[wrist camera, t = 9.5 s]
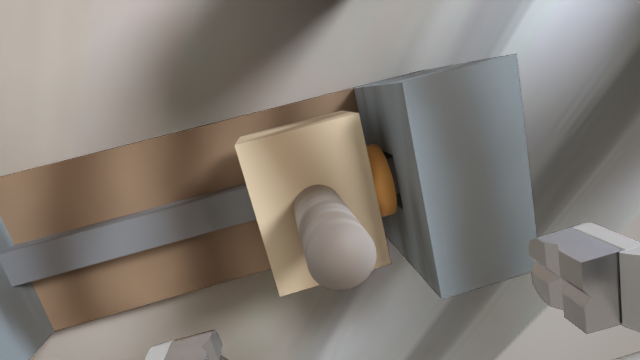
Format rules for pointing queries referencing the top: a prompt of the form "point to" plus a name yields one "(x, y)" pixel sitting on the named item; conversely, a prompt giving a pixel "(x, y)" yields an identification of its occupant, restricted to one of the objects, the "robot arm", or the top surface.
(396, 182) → the orange rounded piece
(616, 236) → the robot arm
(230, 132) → the rail base
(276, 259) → the carriage
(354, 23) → the top surface
